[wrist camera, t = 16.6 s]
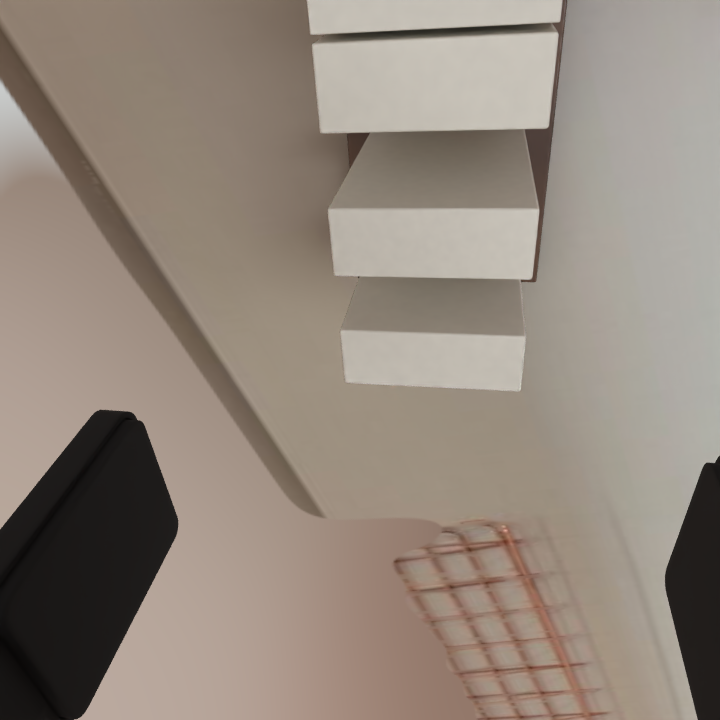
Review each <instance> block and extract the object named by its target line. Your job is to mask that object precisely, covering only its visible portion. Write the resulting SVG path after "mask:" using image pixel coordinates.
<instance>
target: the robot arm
mask: <svg viewBox="0 0 720 720" xmlns="http://www.w3.org/2000/svg"><path fill="white" fill-rule="evenodd" d="M177 530H178V518H177V515H176V512H175V509H174V506H173V504H172V501H171V498H170V495H169V492H168V490H167V487H166V484H165V481H164V478H163V476H162V473H161V470H160V467H159V465H158V462H157V459H156V456H155V453H154V450H153V448H152V445H151V442H150V439H149V437H148V434H147V431H146V428H145V426H144V424H143V422H141V421H138V420H137V418H136V417H135V415H134V414H133V413H131V412H124V411H109V410H99V411H97V412H95V413H94V414H93V415H92V416H91V417H90V419H89V420H88V421H87V422H86V424H85V425H84V426H83V427H82V429H81V430H80V431H79V432H78V434H77V435H76V436H75V437H74V438H73V440H72V441H71V442H70V444H69V445H68V446H67V447H66V448H65V450H64V451H63V452H62V454H61V455H60V456H59V457H58V458H57V460H56V461H55V462H54V463H53V465H52V466H51V467H50V468H49V470H48V471H47V472H46V473H45V475H44V476H43V477H42V478H41V480H40V481H39V482H38V483H37V484H36V486H35V487H34V488H33V490H32V491H31V492H30V493H29V495H28V496H27V497H26V499H25V500H24V501H23V502H22V503H21V504H20V506H19V507H18V508H17V509H16V511H15V512H14V513H13V514H12V516H11V517H10V518H9V519H8V521H7V522H6V523H5V524H4V526H3V527H2V528H1V529H0V720H74V719H78V718H80V717H81V716H82V715H83V714H84V713H85V711H86V710H87V708H88V706H89V705H90V703H91V701H92V699H93V697H94V695H95V693H96V691H97V689H98V687H99V685H100V683H101V681H102V679H103V677H104V675H105V673H106V672H107V670H108V668H109V666H110V664H111V662H112V660H113V658H114V656H115V654H116V652H117V650H118V648H119V646H120V644H121V642H122V640H123V638H124V636H125V634H126V633H127V631H128V629H129V627H130V625H131V623H132V621H133V619H134V617H135V615H136V613H137V611H138V609H139V607H140V605H141V603H142V602H143V600H144V598H145V596H146V594H147V591H148V590H149V588H150V586H151V584H152V582H153V580H154V578H155V576H156V574H157V572H158V570H159V569H160V566H161V565H162V563H163V561H164V558H165V557H166V555H167V553H168V551H169V549H170V547H171V545H172V543H173V541H174V539H175V537H176V534H177ZM665 587H666V593H667V597H668V601H669V605H670V609H671V613H672V617H673V621H674V625H675V630H676V634H677V638H678V642H679V646H680V650H681V654H682V658H683V662H684V666H685V670H686V674H687V678H688V682H689V686H690V690H691V694H692V698H693V702H694V706H695V710H696V714H697V718H698V720H720V456H719V457H718V458H717V460H716V462H715V463H706V464H705V465H704V467H703V469H702V471H701V474H700V477H699V480H698V482H697V485H696V488H695V491H694V494H693V496H692V499H691V502H690V505H689V507H688V510H687V513H686V516H685V519H684V521H683V524H682V527H681V530H680V532H679V535H678V538H677V541H676V543H675V546H674V549H673V552H672V555H671V557H670V560H669V563H668V566H667V569H666V574H665Z"/></svg>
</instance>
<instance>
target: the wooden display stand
mask: <svg viewBox="0 0 720 720" xmlns="http://www.w3.org/2000/svg"><path fill="white" fill-rule="evenodd" d="M307 8H308V18H309V28H310V34H311V35H322V34H326V35H325V36H323V37H322V38H320V39H319V40H317V41H316V42H315V43H313V44H312V55H313V65H314V75H315V86H316V96H317V106H318V116H319V126H320V132H321V133H323V134H328V133H347V138H348V151H349V164H350V168H351V166H352V165H353V163H354V161H355V159H356V157H357V156H358V154H359V152H360V150H361V148H362V147H363V145H364V143H365V141H366V139H367V138H368V136H369V134H370V133H374V132H419V131H465V130H510V129H524V130H525V135H526V140H527V146H528V151H529V157H530V162H531V167H532V173H533V178H534V184H535V189H536V194H537V200H538V205H539V220H538V230H537V239H536V248H535V258H534V267H533V277H532V279H530V280H521V279H468V278H414V277H361V276H358V278H359V279H358V282H357V285H356V287H355V290H354V293H353V296H352V299H351V301H350V304H349V307H348V310H347V313H346V315H345V318H344V321H343V324H342V326H341V329H340V338H341V348H342V358H343V369H344V379H345V382H346V383H357V384H377V385H397V386H418V387H438V388H458V389H478V390H498V391H520V390H521V383H522V374H523V364H524V355H525V345H526V329H525V319H524V308H523V298H522V288H521V282H536V278H537V269H538V260H539V251H540V242H541V233H542V224H543V215H544V206H545V197H546V188H547V179H548V170H549V161H550V152H551V143H552V134H553V125H554V116H555V107H556V98H557V89H558V80H559V71H560V62H561V53H562V44H563V35H564V26H565V17H566V8H567V0H307Z"/></svg>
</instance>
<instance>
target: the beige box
mask: <svg viewBox="0 0 720 720" xmlns="http://www.w3.org/2000/svg"><path fill="white" fill-rule="evenodd" d="M328 220H329V230H330V240H331V250H332V260H333V270H334V275H335V276H361V277H414V278H468V279H521V280H530V279H532V277H533V267H534V258H535V248H536V239H537V230H538V220H539V205H538V200H537V194H536V189H535V184H534V178H533V173H532V167H531V162H530V157H529V151H528V146H527V140H526V135H525V130H524V129H510V130H465V131H419V132H374V133H370V134H369V136H368V138H367V139H366V141H365V143H364V145H363V147H362V148H361V150H360V152H359V154H358V156H357V157H356V159H355V161H354V163H353V165H352V166H351V168H350V170H349V172H348V174H347V176H346V177H345V179H344V181H343V183H342V185H341V186H340V188H339V190H338V192H337V194H336V195H335V197H334V199H333V201H332V203H331V204H330V206H329V208H328Z"/></svg>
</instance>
